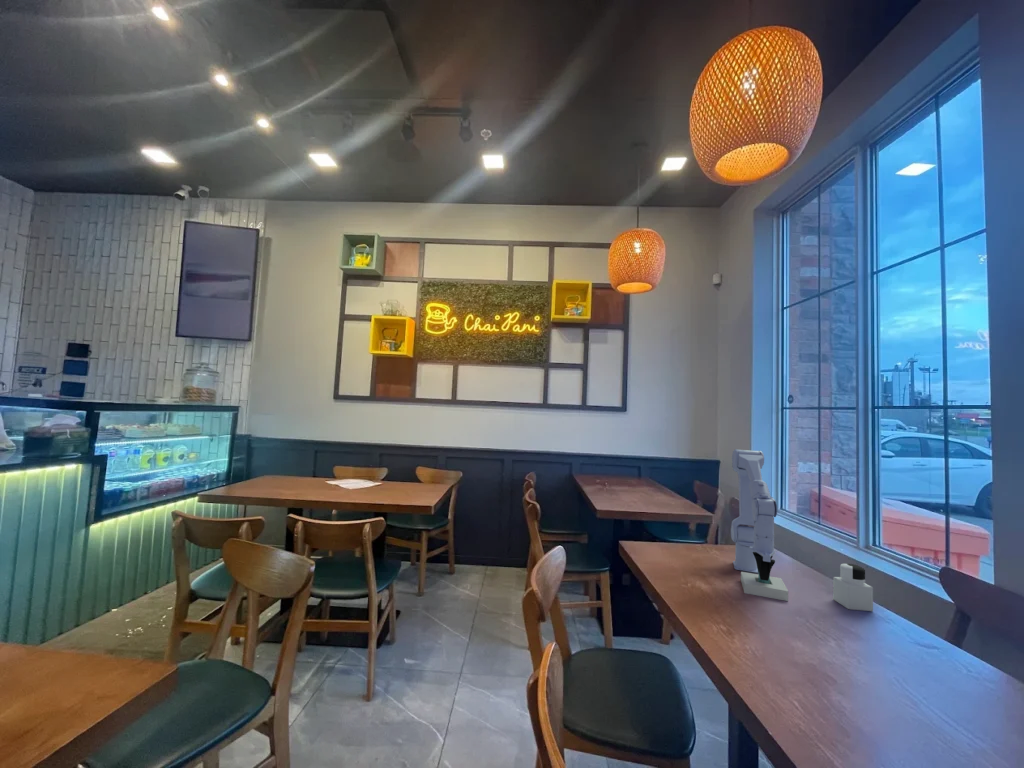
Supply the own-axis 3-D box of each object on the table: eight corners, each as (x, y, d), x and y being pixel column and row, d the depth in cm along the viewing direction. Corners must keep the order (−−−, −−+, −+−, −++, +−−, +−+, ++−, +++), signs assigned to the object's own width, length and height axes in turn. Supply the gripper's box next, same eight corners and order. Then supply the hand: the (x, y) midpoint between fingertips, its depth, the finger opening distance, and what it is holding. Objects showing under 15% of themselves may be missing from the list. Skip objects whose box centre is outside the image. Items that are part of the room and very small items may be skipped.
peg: (758, 581, 143) (758, 560, 143) (769, 584, 141) (770, 562, 142) (758, 584, 140) (758, 562, 141) (769, 587, 139) (770, 565, 139)
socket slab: (740, 580, 149) (740, 571, 149) (781, 587, 144) (781, 578, 144) (744, 593, 138) (744, 583, 138) (788, 601, 133) (788, 591, 133)
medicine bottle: (856, 601, 135) (856, 562, 136) (873, 611, 128) (873, 570, 129) (832, 599, 136) (832, 560, 137) (847, 609, 129) (847, 568, 130)
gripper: (747, 528, 150) (747, 568, 149) (752, 539, 137) (752, 583, 136) (771, 531, 147) (770, 572, 146) (778, 542, 134) (778, 587, 133)
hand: (763, 577), depth 141 cm, fingers closed on peg, 3 cm apart
